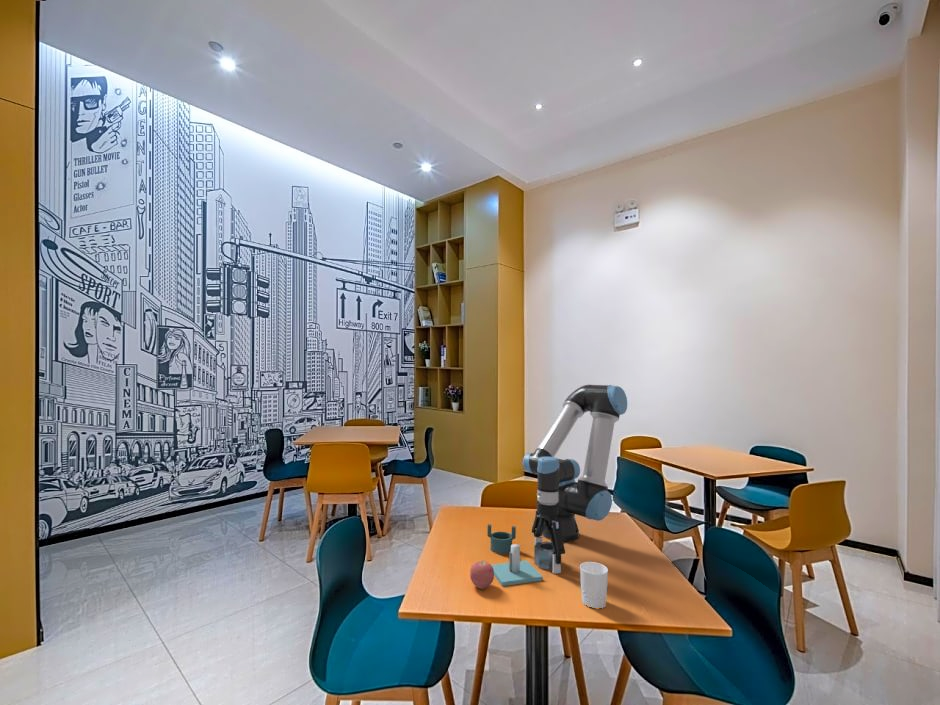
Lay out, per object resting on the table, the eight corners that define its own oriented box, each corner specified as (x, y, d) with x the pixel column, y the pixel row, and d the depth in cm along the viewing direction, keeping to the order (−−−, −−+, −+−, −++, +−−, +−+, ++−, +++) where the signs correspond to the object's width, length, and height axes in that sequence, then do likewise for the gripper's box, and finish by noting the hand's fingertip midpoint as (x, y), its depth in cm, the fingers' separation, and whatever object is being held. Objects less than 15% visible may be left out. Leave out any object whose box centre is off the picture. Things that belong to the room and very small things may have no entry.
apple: (470, 580, 131) (470, 554, 132) (493, 581, 131) (493, 555, 131) (469, 592, 124) (470, 565, 124) (494, 593, 124) (494, 566, 124)
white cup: (576, 596, 123) (576, 561, 124) (601, 595, 124) (601, 561, 124) (585, 611, 115) (585, 574, 116) (612, 610, 116) (612, 573, 117)
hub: (552, 557, 149) (552, 540, 149) (564, 568, 141) (564, 550, 141) (531, 560, 147) (531, 543, 147) (542, 571, 138) (542, 552, 139)
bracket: (517, 551, 154) (517, 526, 155) (497, 556, 149) (497, 530, 150) (503, 542, 162) (504, 519, 162) (484, 547, 157) (484, 523, 158)
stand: (526, 563, 144) (527, 537, 144) (542, 580, 132) (542, 551, 133) (489, 568, 140) (489, 540, 140) (502, 586, 128) (502, 555, 129)
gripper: (523, 492, 156) (522, 550, 154) (555, 514, 132) (554, 582, 131) (541, 491, 158) (540, 548, 157) (576, 512, 134) (575, 579, 133)
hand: (547, 564), depth 144 cm, fingers open, 13 cm apart
